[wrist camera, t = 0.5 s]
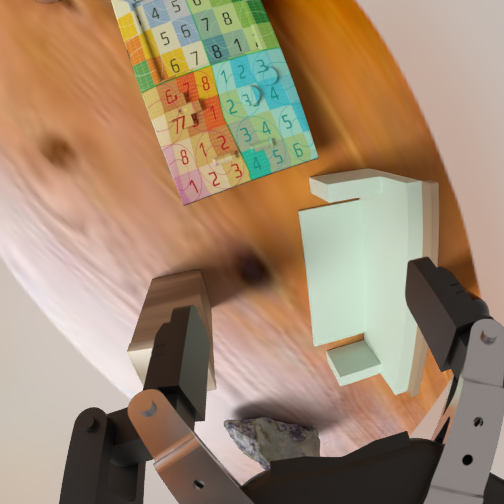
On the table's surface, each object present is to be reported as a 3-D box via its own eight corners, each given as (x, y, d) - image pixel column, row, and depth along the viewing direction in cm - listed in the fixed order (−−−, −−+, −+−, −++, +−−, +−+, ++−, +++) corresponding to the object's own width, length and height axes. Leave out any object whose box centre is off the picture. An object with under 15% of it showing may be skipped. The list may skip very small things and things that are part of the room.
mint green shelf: (293, 179, 30) (333, 199, 20) (375, 167, 30) (438, 182, 21) (315, 363, 37) (343, 423, 28) (379, 343, 38) (418, 394, 28)
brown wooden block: (151, 278, 31) (126, 351, 20) (201, 268, 31) (199, 339, 20) (164, 317, 33) (150, 399, 21) (211, 308, 33) (216, 389, 22)
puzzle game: (183, 208, 25) (107, -5, 18) (186, 198, 29) (120, 13, 22) (322, 159, 25) (242, -47, 18) (305, 156, 29) (237, -24, 22)
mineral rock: (218, 410, 38) (223, 472, 29) (295, 382, 38) (317, 442, 29) (253, 456, 43) (263, 508, 33) (319, 433, 43) (338, 483, 33)
